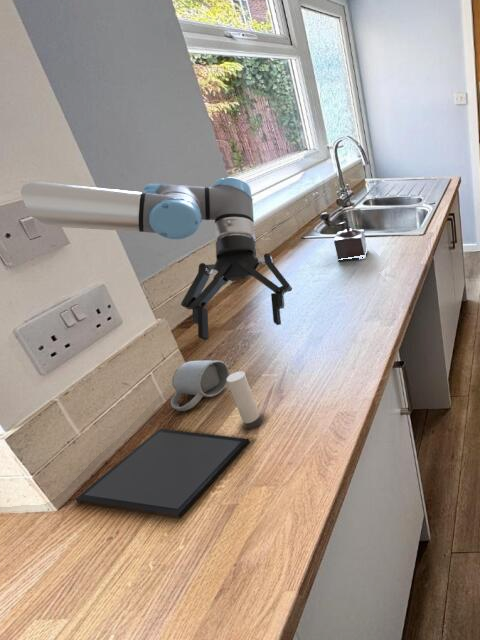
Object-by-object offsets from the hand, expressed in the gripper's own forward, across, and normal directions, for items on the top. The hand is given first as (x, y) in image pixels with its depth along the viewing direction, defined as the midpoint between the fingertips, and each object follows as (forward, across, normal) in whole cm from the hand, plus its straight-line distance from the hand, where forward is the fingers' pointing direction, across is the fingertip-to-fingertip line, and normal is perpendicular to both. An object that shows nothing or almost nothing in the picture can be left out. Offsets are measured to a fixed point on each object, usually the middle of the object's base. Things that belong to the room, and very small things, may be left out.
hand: (241, 330), depth 85 cm
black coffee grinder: (-42, +19, +66) cm, 80 cm away
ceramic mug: (+9, -13, +14) cm, 21 cm away
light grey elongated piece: (+19, 0, +4) cm, 19 cm away
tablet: (+24, -12, -1) cm, 26 cm away
